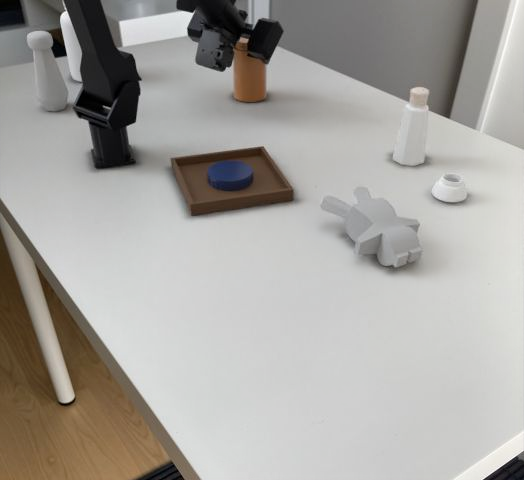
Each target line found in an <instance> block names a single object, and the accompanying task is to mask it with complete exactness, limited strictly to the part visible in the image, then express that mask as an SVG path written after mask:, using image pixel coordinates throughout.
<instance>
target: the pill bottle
mask: <svg viewBox="0 0 524 480" xmlns="http://www.w3.org/2000/svg"><path fill="white" fill-rule="evenodd" d="M62 5H63V8H64V10H65V11H64V12H62V13H61V15H60V19H59V22H60V23H59V24H60V27H61V32H62V33H61V34H62V38H63V41H64V46H65V51H66V58H67V61H68V67H69V71H70V74H71V78H72V79H73V80H74V81H76V82H79V83H80V82H81V83H82V79H81V74H80V64H81V57H82V51H81V48H80V45H79V42H78V39H77V37H76V34H75V31H74V28H73V26H72V23H71V20H70V17H69V15H68V12H67V9H66V7H65V4H64V1H63V0H62Z"/></svg>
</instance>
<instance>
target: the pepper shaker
mask: <svg viewBox="0 0 524 480" xmlns="http://www.w3.org/2000/svg"><path fill="white" fill-rule="evenodd" d="M409 93H410V95H409V103H406V104H405V107H404V110H403V113H402V118H401V122H400V126H399V130H398V132H397V133H398V134H397V138H396V141H395V145H394V149H393V153H392V161H394V162H396V163H397V164H399V165H401V166H407V167H408V166H410V167H416V166H418V165H422V164H424V163H425V156H426V148H427V147H426V146H427V133H428V124H429V123H428V121H429V108H430V107H429V105H427V104H428V103H427V102H428V99H429V95H430V89H428V88H425V87H423V86H422V87H421V86H416V87H413V88H411V89H410V92H409Z"/></svg>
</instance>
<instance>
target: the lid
mask: <svg viewBox="0 0 524 480" xmlns="http://www.w3.org/2000/svg"><path fill="white" fill-rule="evenodd" d="M207 179H208V183H209V185H210V186H212V187H213V188H215V189H218V190H223V191H236V190H241V189H244V188H246V187H248V186H250V185H251V183H252V181H253V170H252V167H251V166H250V165H248V164H246V163H244V162H240V161H221V162H218V163H215V164H213V165H211V166H210V167H209V168H208V171H207Z"/></svg>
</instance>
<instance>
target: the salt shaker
mask: <svg viewBox="0 0 524 480" xmlns="http://www.w3.org/2000/svg"><path fill="white" fill-rule="evenodd" d="M26 42H27V43H26V44H27V46H28V47H29V49H31V50H32V55H33V65H34V66H33V67H34V79H35V80H34V81H35V95H36V99H37V101H38V102H39V103H40V105H41V106H42V107H43V108H44V110H45V111H47V112H54V113H55V112H58V111H63V110H65V109H66V107H67V105H68V99H69V90H68V87H67V85H66V82H65V80H64V78H63V75H62V72H61V70H60V67H59V64H58V62H57V59H56V57H55V55H54V52H53V50H52V47H53V46H54V40H53V36H52V34H51V33H50V32H48V31H45V30H36V31H31V32H29V33H28V34H27V35H26Z"/></svg>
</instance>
